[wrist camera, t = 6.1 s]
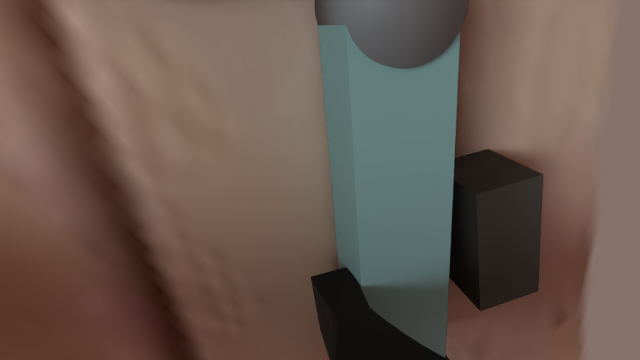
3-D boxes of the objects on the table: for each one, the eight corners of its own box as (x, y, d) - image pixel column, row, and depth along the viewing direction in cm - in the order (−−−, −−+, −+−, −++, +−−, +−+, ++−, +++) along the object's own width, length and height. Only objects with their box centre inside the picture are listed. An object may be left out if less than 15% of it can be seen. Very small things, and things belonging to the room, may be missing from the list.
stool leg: (307, -50, 9) (337, -76, 7) (413, -57, 10) (476, -84, 7) (342, 349, 14) (367, 416, 12) (412, 331, 15) (450, 392, 12)
